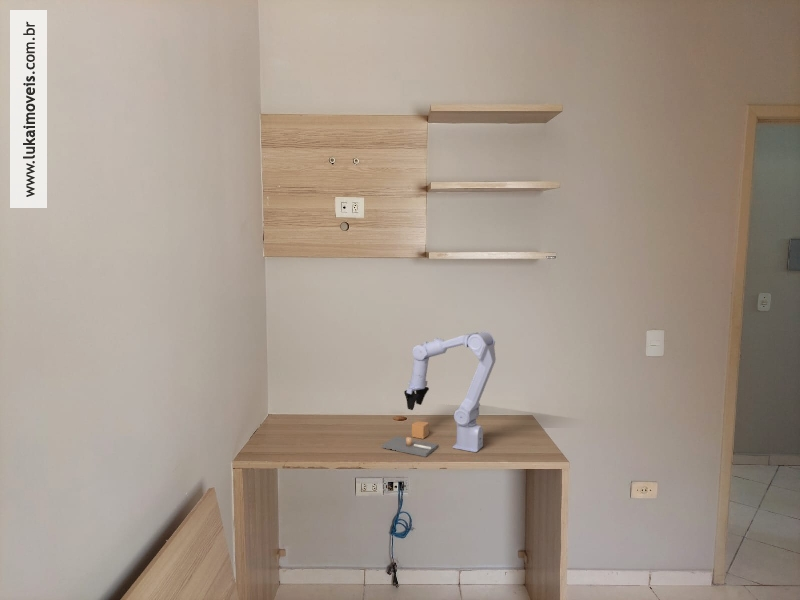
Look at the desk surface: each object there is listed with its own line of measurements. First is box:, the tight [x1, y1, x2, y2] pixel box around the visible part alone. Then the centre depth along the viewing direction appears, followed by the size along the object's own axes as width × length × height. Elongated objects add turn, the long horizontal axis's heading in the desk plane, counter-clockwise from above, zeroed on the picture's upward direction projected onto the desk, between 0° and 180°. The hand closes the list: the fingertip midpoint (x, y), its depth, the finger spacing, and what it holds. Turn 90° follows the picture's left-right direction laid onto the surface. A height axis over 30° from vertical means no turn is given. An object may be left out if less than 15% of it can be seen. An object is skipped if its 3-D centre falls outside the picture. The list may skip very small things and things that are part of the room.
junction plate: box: [381, 435, 439, 457], centre depth 192 cm, size 18×11×4 cm, turn 62°
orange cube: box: [411, 420, 430, 440], centre depth 205 cm, size 5×5×5 cm
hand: (414, 406), depth 205 cm, fingers open, 7 cm apart
